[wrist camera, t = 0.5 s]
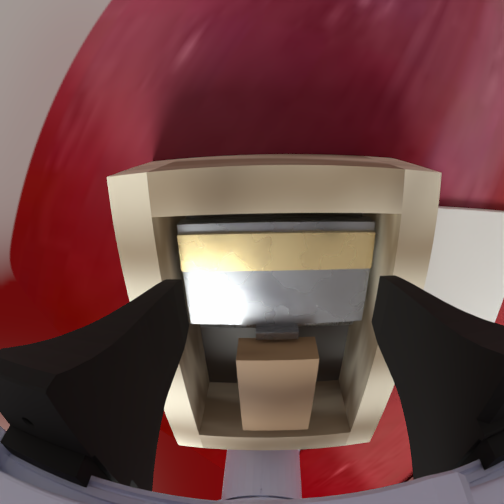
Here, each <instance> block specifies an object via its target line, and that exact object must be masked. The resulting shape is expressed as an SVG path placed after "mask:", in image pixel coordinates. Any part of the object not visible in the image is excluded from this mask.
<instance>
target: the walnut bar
mask: <svg viewBox="0 0 504 504" xmlns="http://www.w3.org/2000/svg"><path fill="white" fill-rule="evenodd" d="M318 365H319V354H318V349H317V345H316V340H315V337H299V338H298V339H272V340H256V338H239V339H238V347H237V355H236V367H237V378H238V388H239V398H240V408H241V417H242V427H243V430H251V431H274V430H303V429H308V427H309V421H310V416H311V410H312V404H313V398H314V392H315V385H316V379H317V372H318Z"/></svg>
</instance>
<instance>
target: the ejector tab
mask: <svg viewBox="0 0 504 504" xmlns="http://www.w3.org/2000/svg"><path fill="white" fill-rule="evenodd" d="M374 228H375V221H374V220H372V219H371V218H370V217H369V216H277V217H230V218H198V219H182V220H181V221H180V222H179V223H178V224H177V230H178V235H177V240H178V248H179V256H180V263H181V270H182V271H183V276H184V283H185V290H186V296H187V302H188V309H189V315H190V321H191V324H199V325H200V327H212V328H256V340H272V339H298V338H299V329H298V327H315V326H336V325H352V324H353V321H361V320H362V315H363V309H364V304H365V298H366V291H367V285H368V278H369V271H370V268H371V266H372V258H373V250H374V242H375V232H374Z"/></svg>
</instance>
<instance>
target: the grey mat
mask: <svg viewBox="0 0 504 504" xmlns="http://www.w3.org/2000/svg"><path fill="white" fill-rule="evenodd" d="M424 291H426V292H428V293H430V294H432V295H433V296H435V297H437V298H439V299H441V300H442V301H444V302H446V303H448V304H450V305H452V306H454V307H456V308H458V309H460V310H462V311H465V312H467V313H469V314H472V315H474V316H477V317H479V318H482V319H484V320H487V321H490V322H494V323H495V320H496V317H497V315H498V312H499V309H500V307H501V304H502V301H503V298H504V211H500V210H489V209H476V208H461V207H445V206H438V213H437V220H436V227H435V234H434V240H433V246H432V252H431V257H430V262H429V267H428V272H427V276H426V281H425V285H424Z"/></svg>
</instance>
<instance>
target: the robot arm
mask: <svg viewBox="0 0 504 504" xmlns="http://www.w3.org/2000/svg"><path fill="white" fill-rule="evenodd" d="M371 322H372V326H373V330H374V333H375V337H376V340H377V344H378V346H379V348H380V351H381V353H382V355H383V358H384V360H385V362H386V364H387V367H388V369H389V371H390V374H391V376H392V378H393V381H394V383H395V386H396V388H397V391H398V394H399V397H400V400H401V404H402V408H403V412H404V416H405V421H406V425H407V431H408V436H409V442H410V449H411V457H412V467H413V480H411V481H407V482H403V483H399V484H395V485H391V486H387V487H382V488H377V489H372V490H367V491H362V492H356V493H349V494H343V495H335V496H326V497H317V498H304V499H302V493H301V476H300V459H299V451H300V449H297V450H229V449H227V457H226V465H225V474H224V483H223V491H222V500H218V501H212V500H203V499H194V498H187V497H180V496H174V495H168V494H162V493H157V492H152V485H153V472H154V464H155V456H156V449H157V442H158V437H159V431H160V425H161V420H162V416H163V411H164V406H165V402H166V399H167V396H168V392H169V390H170V387H171V384H172V381H173V379H174V376H175V373H176V371H177V368H178V365H179V362H180V360H181V357H182V354H183V351H184V348H185V344H186V340H187V335H188V330H189V321H188V315H187V309H186V303H185V297H184V291H183V284H182V279H166V280H163V281H161V282H160V283H158V284H156V285H155V286H153V287H152V288H150V289H149V290H147V291H146V292H144V293H143V294H141V295H140V296H138V297H137V298H135V299H134V300H132V301H131V302H129V303H127V304H126V305H124V306H122V307H121V308H119V309H117V310H116V311H114V312H112V313H111V314H109V315H107V316H105V317H103V318H101V319H100V320H98V321H95V322H93V323H91V324H89V325H87V326H85V327H82V328H80V329H77V330H75V331H72V332H69V333H67V334H64V335H62V336H59V337H55V338H52V339H49V340H45V341H41V342H37V343H33V344H28V345H23V346H17V347H11V348H3V349H1V350H0V412H1V414H2V415H3V416H4V418H5V419H6V420H7V421H8V423H9V424H10V427H9V429H8V430H7V431H5V430H4V429H3V428H2V427H1V426H0V504H504V326H503V325H500V324H497V323H494V322H490V321H487V320H484V319H482V318H479V317H477V316H474V315H472V314H469V313H467V312H465V311H462V310H460V309H458V308H456V307H454V306H452V305H450V304H448V303H446V302H444V301H442V300H441V299H439V298H437V297H435V296H433V295H432V294H430V293H428V292H426V291H424V290H423V289H421V288H419V287H417V286H416V285H414V284H412V283H410V282H408V281H406V280H405V279H402V278H400V277H398V276H395V275H388V276H380V278H379V284H378V290H377V296H376V301H375V306H374V312H373V317H372V321H371Z"/></svg>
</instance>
